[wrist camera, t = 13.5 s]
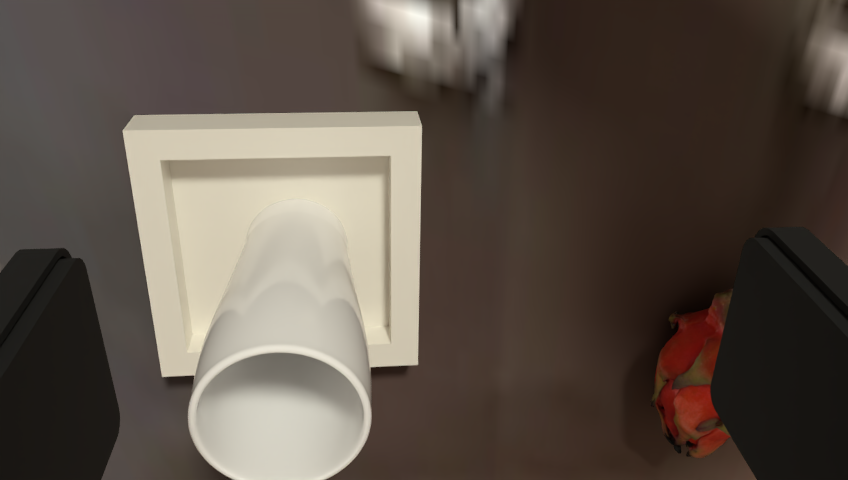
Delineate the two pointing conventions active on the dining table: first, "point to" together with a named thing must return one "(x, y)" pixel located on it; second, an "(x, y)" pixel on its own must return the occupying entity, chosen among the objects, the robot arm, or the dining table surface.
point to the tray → (262, 186)
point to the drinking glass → (285, 354)
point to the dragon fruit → (691, 380)
